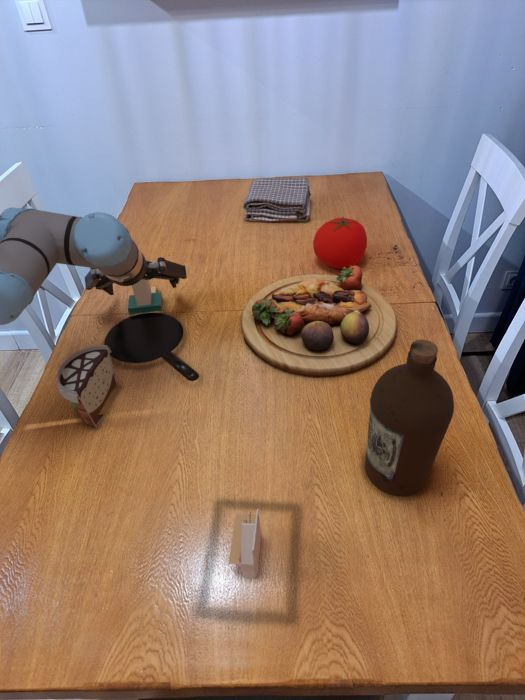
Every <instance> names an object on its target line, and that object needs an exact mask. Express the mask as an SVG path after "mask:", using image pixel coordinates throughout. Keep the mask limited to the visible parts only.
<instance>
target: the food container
mask: <svg viewBox="0 0 525 700" xmlns="http://www.w3.org/2000/svg"><path fill="white" fill-rule="evenodd" d="M110 353H111V350H110V348H109V347H108V346H107V345H104V344H99V345H98V344H97V345H92V346H88V347H85V348H82V349H79V350H78V351H76V352H74V353H72V354H71V355H69V356H68V357H66V359H65V360H64V361H63V362H62V363H61V365H60V366H59V368H58V370H57V375H56V380H57V381H56V382H57V389H58V392H59V394H60V395H61V397H62V398H64V399H65V400H67V401H69V402H70V404H71V405H72V407H73V409H74V410H75V412H76V414H77V416H78V417H79V418H80V420H81V422H83V423H84V425H86V426H88V427H91V428H95V429H96V428H97V427H98V425H99V423H100V421H101V420H102V418H103V417H104V414H105V413H104V414H103V413H102V414H100V413H101V411H102V409H103V407H104V406H105V404H106V403H107V401H108V399H109V397H110V396H111V394H112V393H113V391H114V389H115V387H116V385H117V384H118V380H117V377H116V373H115V369H114V365H113V361H112V357H111V356H110Z"/></svg>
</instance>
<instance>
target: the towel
mask: <svg viewBox="0 0 525 700" xmlns="http://www.w3.org/2000/svg"><path fill="white" fill-rule="evenodd" d="M309 182H310V181H309V179H308V177H290V178H289V177H258V178H256V179H254V180H253V181H252V182H251V183H250V184H249V187H248V192H247V194H246V196H245V199H244V202H243V205H242V208H243V209H244V210H245V212H244V220H245V221H250V222H271V223H272V222H273V223H274V222H302V223H303V222H304V223H306V222H308V221H309V218H310V213H311V189H310V186H309Z"/></svg>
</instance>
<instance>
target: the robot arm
mask: <svg viewBox="0 0 525 700" xmlns="http://www.w3.org/2000/svg"><path fill="white" fill-rule="evenodd" d="M155 261H156V262H152V261H150V260H147V259H146V257H145V255H144V254H143V252H142V250H141V249H140V248H139V246H138V245H137V244H136V242H135V240H134V239H133V238H132V236H131V234H130V231H129V230H128V228H127V226H125V225H124V224H123V223H122V222H121V221H120V220H119V219H118V218H116V217H115V216H113V215H112V214H109V213H107V212H101V211H95V212H92V213H88V214H86V215H84V216H76V215H70V214H64V213H58V212H52V211H46V210H42V209H41V210H40V209H36V208H31V207H30V208H22V207H8V208H6V209H4V210H3V211H2V212H1V213H0V326H5V325H8V324H11V323H13V322H15V321H16V320H17V319H18V318H19V317H20V316H21V315H22V313H23V312H24V310H25V309H26V308H27V307H28V306H30V305H31V304H32V302H33V301H34V299H35V295H36V294H37V292H38V291H39V290H40V288H41V287H42V285H43V284H44V282H45V281H46V280H47V278H48V277H49V275H50V274H51V272H52V271H53V269H54V268H55V266H56V265H57V264H59V265H60V264H61V265H67V266H75V267H82V268H83V267H84V268H89V269H90V270H89V271H88V272H87V273H86V275H85V276H84V284H85V285H84V286H85V290H86V291H91V290H93V289H94V288H95V290H99V291H103V292H104V293H106V294H108V295H109V296H114V294H115V292H114V284H115V285H117V286H121V287H132V285H134V284H136V283H138V282H139V281H140V280H141V279H143V280H149V281H151V280H153V279H159V280H167V281H168V282H169V284H170V286H171V287H172V289H176V288H177V285H179V283H180V279H182V280H186V279H187V276H188V275H187V268H186V265H182V264H180V263H177V262H173V261H171V260H167V259H166V258H164V257H162V256H160V257H157V259H156V260H155ZM146 274H147V275H146Z"/></svg>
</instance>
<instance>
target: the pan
mask: <svg viewBox="0 0 525 700" xmlns="http://www.w3.org/2000/svg"><path fill="white" fill-rule="evenodd" d="M183 338H184V327H183V325H182V322H180V321H179V320H178V319H177V318H176V317H174V316H172V315H170V314H167V313H162V312H147V313H138V314H133V315H131V316H129V317H126V318H125V319H124V318H123V319H122V320H120V321H119V322H118V323H116V324H115V325H114V326H113V327H111V328H110V330H108V332H107V334H106V336H105V338H104V342H103V345H107V346H108V347H109V348H110V350H111V353H110V357H111V359H114V360H116V361H118V362H122V363H127V364H143V363H149V362H154V361H156V360H159V359H163V361H164V362H166V363H167V364H168V365H170V367H172V368H173V369H174V370H175V371H177V372H178V373H179V374H180V375H181V376H182V377H184V378H185V379H186V380H187V381H189V382H195V381H197V380H198V379H199V378H200V374H199V373H198V372H197V371H196V370H195V369H194V368H192V367H191V366H190V365H189V364H188V363H186V362H185V361H184V360H183V359H182V358H180V357H179V356H178V355H176V354H175V353H174V352H173V351H174V350H175V349H176V348H177V347H178V346H179V345H180V343H181V342H182V340H183Z"/></svg>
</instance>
